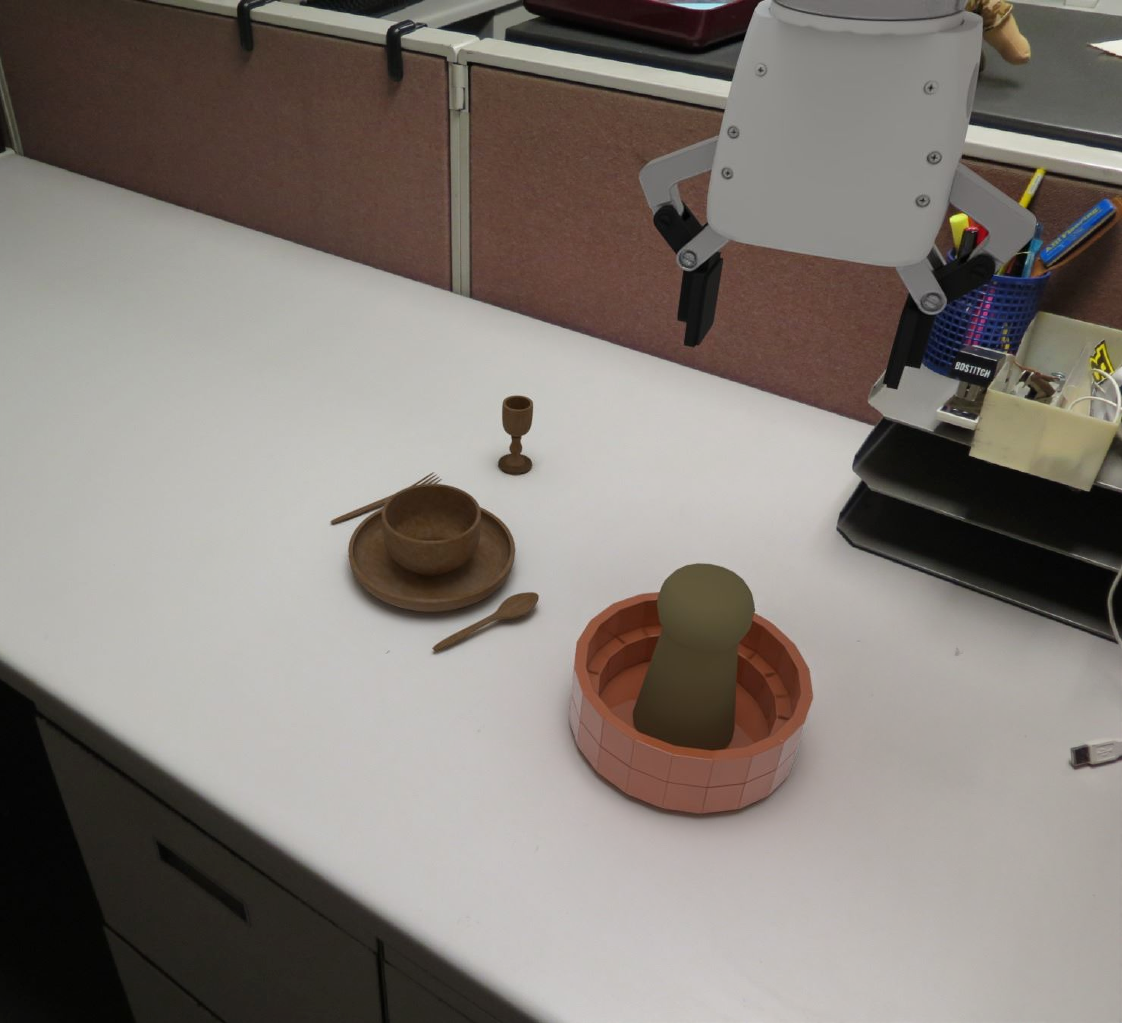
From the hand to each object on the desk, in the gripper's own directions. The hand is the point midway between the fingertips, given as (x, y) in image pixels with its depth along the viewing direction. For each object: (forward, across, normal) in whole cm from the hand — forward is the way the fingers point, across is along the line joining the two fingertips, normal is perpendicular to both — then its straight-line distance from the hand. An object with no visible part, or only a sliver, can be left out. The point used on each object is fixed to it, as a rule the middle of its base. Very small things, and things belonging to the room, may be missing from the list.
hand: (792, 355), depth 52 cm
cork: (+23, +1, +5) cm, 24 cm away
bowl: (+23, +1, +5) cm, 24 cm away
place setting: (+23, +20, -6) cm, 31 cm away
